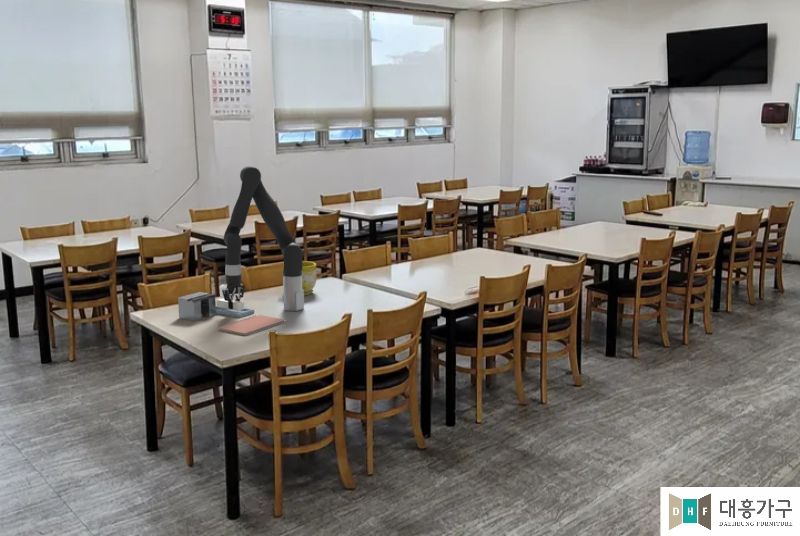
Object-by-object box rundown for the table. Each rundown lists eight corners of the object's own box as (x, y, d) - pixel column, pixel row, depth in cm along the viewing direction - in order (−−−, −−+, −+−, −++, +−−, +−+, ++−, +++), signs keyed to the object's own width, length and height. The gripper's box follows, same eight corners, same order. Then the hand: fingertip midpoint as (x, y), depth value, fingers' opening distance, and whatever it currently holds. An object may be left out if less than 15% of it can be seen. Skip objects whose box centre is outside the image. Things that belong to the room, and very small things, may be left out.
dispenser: (215, 314, 352) (215, 294, 350) (194, 321, 340) (193, 299, 338) (200, 311, 357) (199, 291, 355) (179, 318, 345) (178, 297, 343)
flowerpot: (323, 294, 397) (322, 264, 394) (294, 298, 386) (294, 268, 383) (305, 288, 411) (304, 259, 408) (277, 292, 399) (276, 263, 396)
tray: (254, 312, 356) (253, 309, 356) (238, 317, 347) (238, 314, 346) (223, 307, 366) (223, 303, 366) (207, 312, 357) (207, 308, 356)
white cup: (228, 308, 365) (227, 288, 363) (216, 305, 369) (216, 286, 367) (239, 304, 372) (238, 285, 370) (228, 302, 376) (227, 283, 374)
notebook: (258, 317, 349) (257, 313, 349) (285, 323, 341) (285, 319, 340) (216, 331, 326) (216, 326, 326) (245, 337, 318) (245, 332, 317)
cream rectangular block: (244, 309, 354) (243, 301, 354) (238, 310, 351) (238, 303, 350) (222, 305, 361) (222, 298, 360) (216, 306, 358) (216, 299, 357)
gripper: (228, 276, 343) (229, 312, 347) (249, 271, 356) (250, 305, 359) (217, 274, 347) (218, 309, 350) (237, 270, 359) (238, 303, 363)
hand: (234, 307), depth 355 cm, fingers closed on cream rectangular block, 4 cm apart
